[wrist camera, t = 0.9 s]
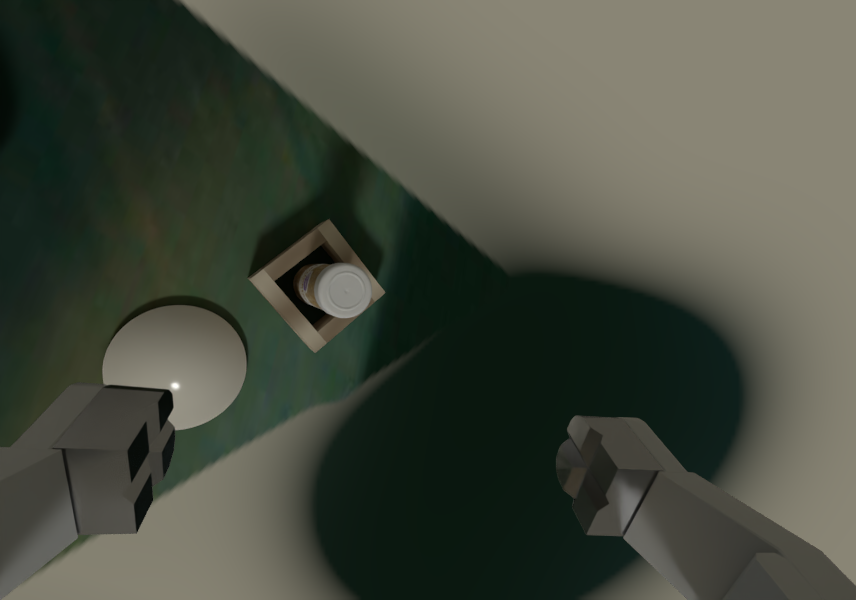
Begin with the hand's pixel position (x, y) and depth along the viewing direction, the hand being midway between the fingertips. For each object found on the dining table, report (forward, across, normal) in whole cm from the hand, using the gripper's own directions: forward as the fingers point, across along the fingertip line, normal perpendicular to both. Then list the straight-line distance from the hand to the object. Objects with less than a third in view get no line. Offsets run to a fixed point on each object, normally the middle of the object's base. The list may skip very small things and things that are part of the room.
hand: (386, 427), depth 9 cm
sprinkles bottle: (+38, +4, +14) cm, 41 cm away
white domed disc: (+32, +15, +22) cm, 42 cm away
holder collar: (+38, +4, +14) cm, 41 cm away
